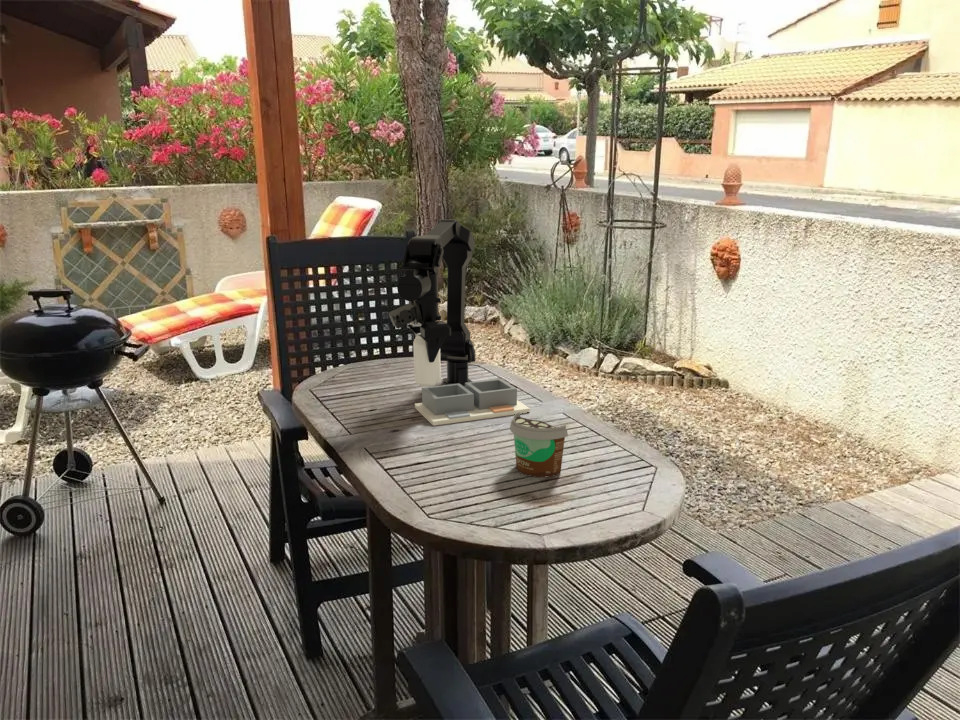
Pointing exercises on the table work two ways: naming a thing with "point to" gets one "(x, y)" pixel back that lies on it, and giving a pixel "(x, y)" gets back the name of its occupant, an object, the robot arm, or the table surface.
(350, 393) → the table surface
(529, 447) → the food container
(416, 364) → the beverage can
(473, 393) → the socket board
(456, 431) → the table surface
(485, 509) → the table surface
